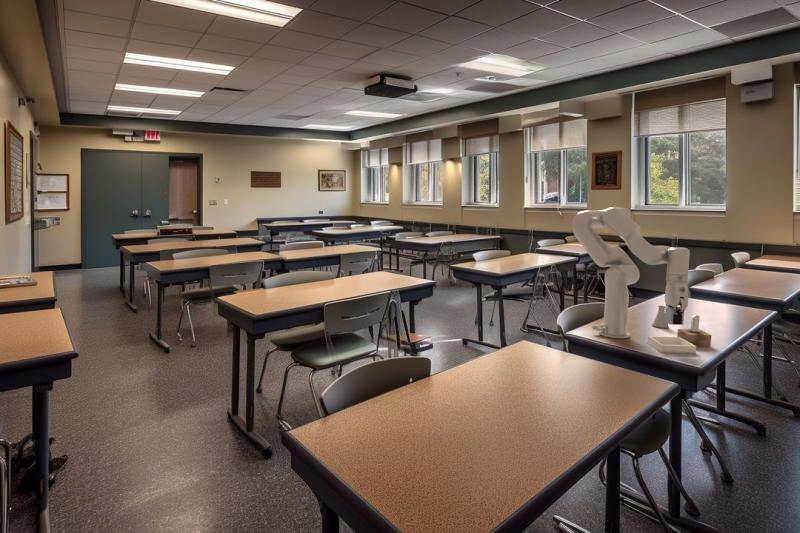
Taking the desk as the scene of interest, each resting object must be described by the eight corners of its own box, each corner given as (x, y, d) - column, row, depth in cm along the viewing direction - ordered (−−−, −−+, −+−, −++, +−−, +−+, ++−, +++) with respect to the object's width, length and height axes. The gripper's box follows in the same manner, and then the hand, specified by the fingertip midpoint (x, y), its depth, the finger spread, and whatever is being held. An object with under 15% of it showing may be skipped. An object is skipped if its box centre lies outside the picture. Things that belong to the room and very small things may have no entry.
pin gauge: (691, 344, 203) (694, 316, 201) (687, 342, 206) (690, 314, 204) (698, 344, 203) (701, 316, 201) (694, 342, 206) (697, 315, 204)
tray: (661, 352, 191) (662, 345, 191) (647, 343, 204) (647, 336, 204) (695, 353, 191) (696, 346, 190) (679, 344, 203) (679, 337, 203)
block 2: (687, 346, 200) (688, 334, 200) (676, 340, 209) (677, 328, 208) (710, 346, 200) (711, 335, 199) (698, 340, 209) (699, 329, 208)
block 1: (670, 324, 193) (671, 309, 193) (664, 321, 198) (665, 307, 198) (683, 324, 193) (684, 309, 192) (677, 321, 198) (678, 307, 197)
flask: (669, 326, 233) (671, 305, 232) (668, 329, 227) (669, 308, 226) (652, 323, 237) (654, 304, 236) (650, 327, 231) (652, 306, 230)
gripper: (698, 281, 185) (694, 328, 187) (676, 275, 202) (673, 317, 204) (677, 281, 185) (674, 327, 188) (657, 275, 202) (654, 317, 204)
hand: (673, 322), depth 196 cm, fingers closed on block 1, 5 cm apart
